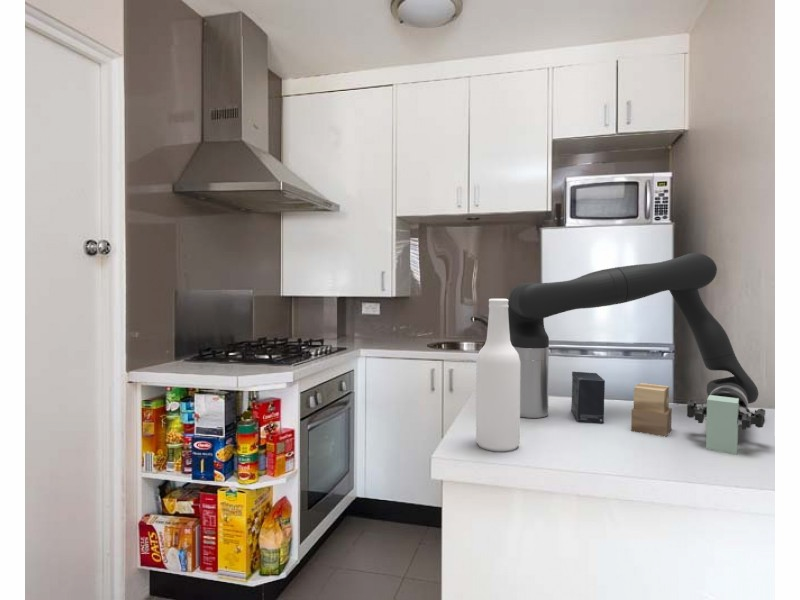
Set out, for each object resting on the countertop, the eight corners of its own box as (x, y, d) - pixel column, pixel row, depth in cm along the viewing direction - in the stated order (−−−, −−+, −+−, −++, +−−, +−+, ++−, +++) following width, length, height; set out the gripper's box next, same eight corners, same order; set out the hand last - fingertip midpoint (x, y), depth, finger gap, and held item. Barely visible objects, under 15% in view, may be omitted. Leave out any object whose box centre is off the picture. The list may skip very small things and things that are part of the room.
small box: (605, 424, 114) (606, 379, 114) (576, 422, 115) (577, 378, 115) (596, 412, 124) (597, 371, 124) (570, 411, 126) (570, 371, 125)
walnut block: (666, 437, 104) (666, 414, 104) (631, 431, 109) (631, 409, 108) (671, 429, 110) (671, 407, 110) (637, 424, 114) (638, 403, 114)
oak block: (663, 413, 105) (664, 390, 105) (633, 409, 109) (634, 387, 108) (668, 408, 110) (669, 386, 109) (639, 404, 113) (640, 382, 113)
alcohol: (473, 450, 96) (474, 299, 95) (478, 436, 104) (479, 298, 103) (519, 454, 94) (520, 299, 93) (520, 440, 102) (521, 298, 101)
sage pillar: (736, 454, 94) (737, 403, 93) (706, 449, 97) (707, 399, 96) (737, 447, 98) (738, 398, 97) (708, 442, 101) (709, 394, 100)
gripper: (690, 383, 113) (680, 397, 99) (767, 392, 104) (768, 407, 91) (689, 415, 113) (679, 433, 100) (767, 426, 104) (767, 447, 91)
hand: (721, 421), depth 95 cm, fingers open, 6 cm apart
